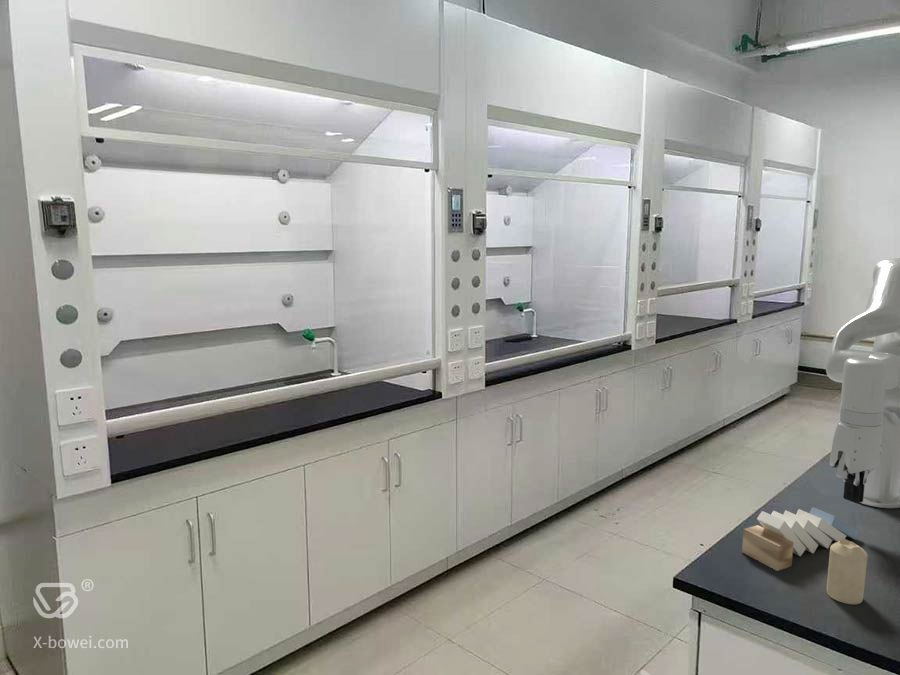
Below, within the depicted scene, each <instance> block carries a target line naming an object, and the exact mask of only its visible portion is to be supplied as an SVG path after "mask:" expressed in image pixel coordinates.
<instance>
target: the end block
mask: <svg viewBox="0 0 900 675" xmlns="http://www.w3.org/2000/svg"><path fill="white" fill-rule="evenodd" d="M742 532H743V533H742V546H741V553H742V554H744V555H746V556H748V557H750V558H752V559H754V560H756V561H757V560H758V562H759V563H762V564H764V566H766V567H769V568H771V569H772V568H773V570H775V571H781V570H785V569H789V568H791V567H792V564H793V554H794V553H793V541H790V540H788V539H786V538H784V537H782V536H780V535H778V534H776V533H773V532H771V531H769V530H767V529H765V528H764V527H763V526H762V525H757V524H756V525H753V526H749V527H746V528H743V531H742Z"/></svg>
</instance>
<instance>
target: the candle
mask: <svg viewBox="0 0 900 675" xmlns="http://www.w3.org/2000/svg"><path fill="white" fill-rule="evenodd" d="M868 555H869V554H868V553H867V551H866V550H865V549H864V548H863V547H861V546H859V545H858V544H856V543H855V542H853V541H850V540H848V539H846V538H845V539H842V540H840V541H838V542H834V543H832V544H830V546H829V557H828V558H829V559H828V568H827V578H826V579H827V581H826V593H827V595H828V596H829V598H831V599H833V600H835V601H837V602H839V603H842V604H847V605H859V604H861V603H862V602H863V600H864V593H865V583H866V575H867V574H866V573H867V563H868Z"/></svg>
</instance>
